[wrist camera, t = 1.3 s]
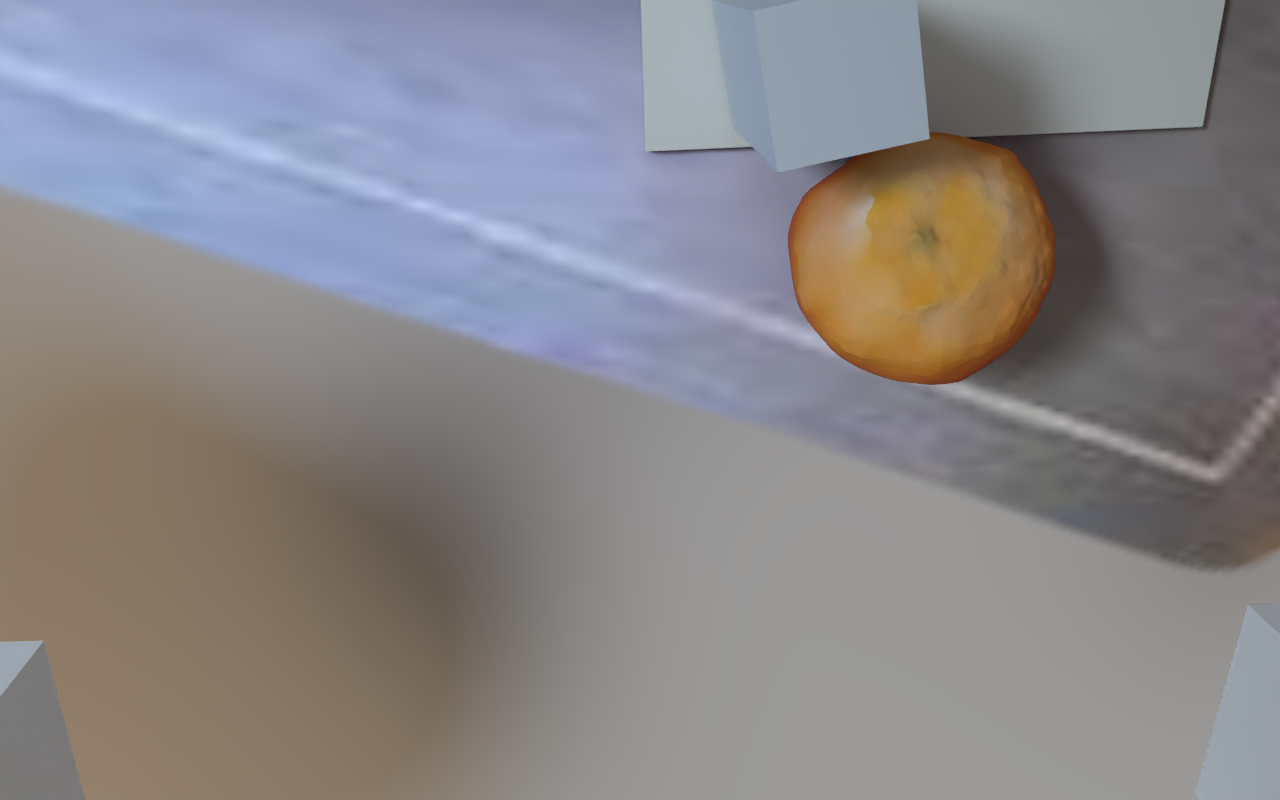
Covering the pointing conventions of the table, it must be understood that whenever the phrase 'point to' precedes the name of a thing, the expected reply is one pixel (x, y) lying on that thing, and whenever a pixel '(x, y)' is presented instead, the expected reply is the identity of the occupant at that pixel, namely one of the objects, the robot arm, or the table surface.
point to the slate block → (822, 76)
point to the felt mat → (974, 68)
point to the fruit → (923, 258)
